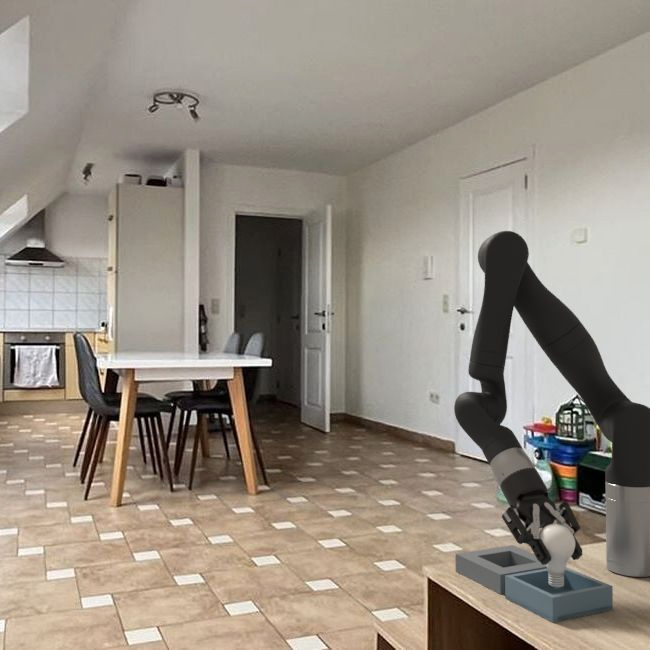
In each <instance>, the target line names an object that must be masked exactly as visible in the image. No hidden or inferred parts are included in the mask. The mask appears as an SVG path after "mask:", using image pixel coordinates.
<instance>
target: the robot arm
mask: <svg viewBox="0 0 650 650" xmlns="http://www.w3.org/2000/svg"><path fill="white" fill-rule="evenodd" d="M529 255H530V252H529V247H528V244H527V242H526V240H525V239H524V238H523V237H522V236H521V235H520V234H519V233H516V232H514V231H511V230H504V231H503V230H502V231H498V232H496V233H494V234H492V235H490V236H489V237H487V238H486V239H485V240H484V241H483V242H482V243H481V244H480V246H479V249H478V253H477V261H478V265H479V268H480V269H481V270H482V272H483V273H484V288H483V296H482V302H481V307H480V312H479V316H478V319H477V322H476V324H475V325H476V326H475V330H474V333H473V338H472V343H471V350H470V355H469V356H470V357H469V362H468V376H469V377H470V378H472V379H474V380H476V381H479V382H480V388H481V392H477V391H465V392H463V393H460V394H459V395H458V396H457V398H456V400H455V402H454V407H453V409H454V415H455V419H456V420H457V423H458V425H459V426H460V427H461V429H462V430H463V431H464V433H465V434H466V435H467V436H469V438H470V439H471V441H472V442H474V443H475V444H476V445H477V446H478V447H479V448H480V451H482V453H483V456H484V458H485V460H486V461H487V463H488V464H489V466H490V469H491V472H492V474H493V476H494V479H495V480H496V483H497V484H498V487H499V488H500V490H501V492H502V494H503V496H504V498H505V500H506V501H507V503H508V505H509V507H508V508H507V509H506V510H505V511H504V512H503V513H502V515H501V518H502V520H503V522H504V523H505V525H506V527H507V528H508V529H509V531H510V532H511V534H512V536H513V537H514V540H516V542H517V544H519V545H522V544H525V545H526V544H527V546H528V547H530V548H531V550H532V553H533V554H535V556H536V558H537V560H538V561H539V562H541V564H542V565H545V564H548V562H549V561H550V560H551V556H550V554H549V552H548V551H547V549H546V547H545V545H544V543H543V541H542V540H541V539H540V540H539V532H540V530H541V529H542V528H543V527H545V526H546V525H549V524H555V521H556V524H560V525H563V526H565V527H566V528H568V529H569V530H570V531H571V533H572V534H573V536H574V538H575V550H574V553H573V554H572V556H571V557H570V558H571V559H572V560H574V561H576V560H579V559H580V558H581V557H582V556H583V549H582V547H581V545H580V543H579V541H578V540H577V538H576V537H575V535H576V533H578V532H579V531H580V529H581V526H580V525H579V523H578V520H577V518H576V516H575V514H574V512H573V510H572V508H571V506H570V503H569V502H568V501H566V500H564V501H562V502H561V503H556V502H554V501H553V500H552V499H551V498H550V496H549V493H548V492H549V491H548V487H547V485H546V484H545V482H544V480H543V478H542V477H541V475H540V473H539V472H538V470H537V468H536V467H535V465H534V463H533V461H532V460H531V458H530V457H529V455H528V454H527V453H526V452H525V450H524V449H523V447H522V445H521V442H519V440H518V438H517V436H516V434H515V433H514V432H513V430H512V429H510V428H509V427H508V426H505V425H502V423H503V421H504V420H505V417H506V415H507V411H508V410H507V409H508V401H507V399H508V398H507V392H506V381H505V376H504V374H505V367H506V362H507V361H506V360H507V354H508V347H509V339H510V332H511V323H512V319H513V312H514V308H515V310H516V311H517V313H518V315H519V317H520V318H521V320H522V322H523V323H524V324H525V326H526V328H527V329H528V331H529V332H530V334H531V335H532V336H533V338H534V340H535V341H536V343H537V344H538V346H539V347H540V349H542V351H543V353H544V354H545V356H547V358H548V359H549V360H550V361H551V363H552V364H553V366H555V368H556V369H557V370H558V371H559V373H560V374H561V375H562V377H564V379H565V380H566V382H568V384H569V385H570V386H571V387H572V388H573V389H574V391H575V392H576V393H577V394H578V396H579V397H580V398H581V400H582V401H583V403H584V404H585V407H586V408H587V409H588V411H589V413H590V415H591V416H592V418H593V420H594V422H595V423H596V425H597V426H598V428H599V430H600V431H601V433H602V434H603V437H605V438H606V439H607V441H609V442H610V443H611V460H610V463H609V465H607V466H606V468H605V473H604V474H605V477H604V478H605V539H606V540H605V541H606V542H605V543H606V546H605V548H606V550H605V552H606V557H605V558H606V559H605V560H606V568H607V570H609V571H611V572H613V573H615V574H618V575H621V576H628V577H636V578H637V577H638V578H639V577H640V578H645V577H650V407H649V406H647V405H644V404H641V403H638V402H635V401H634V402H633V401H631V399H630V398H628V397H627V395H626V394H625V393H624V392H623V391H622V390H621V389H620V388H619V386H618V385H617V384H616V383H615V381H614V380H613V379H612V377H611V376H610V374H609V372H608V371H607V368H606V366H605V364H604V363H605V362H604V360H603V358H602V355H601V352H600V351H599V348H598V346H597V344H596V341H595V340H594V338H593V336H592V335H591V333H590V332H589V331H588V330H587V328H586V327H585V326H584V324H583V323H582V322H581V321H580V319H579V318H578V317H577V315H576V314H575V313H574V312H573V311H572V310H571V309H570V308H569V307H568V306H567V305H566V304H565V303H564V302H562V300H560V298H559V297H557V296H556V295H555V294H554V293H553V292H551V291H550V290H549V289H548V288H547V287H546V286H545V284H544V283H542V282H541V280H540V279H539V277H538V276H537V275H536V273H535V272H534V270H533V268H532V267H531V266H530V264H529V262H528V260H529V257H530V256H529Z"/></svg>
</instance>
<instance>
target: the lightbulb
mask: <svg viewBox="0 0 650 650" xmlns="http://www.w3.org/2000/svg"><path fill="white" fill-rule="evenodd" d="M574 536H575V535H574ZM574 536H573V534H572V533H571V531H570V530H569V529H568V528H566V527H565V526H563V525H560V524H557V523H553V524H549V525H546V526H545V527H543V528H540V529H539V540H540V539H541V540H542V541H543V543H544V545H545V547H546V549H547V551H548V552H549V554H550V556H551V560H550V561H549V562H548V564H546V566H547V569H548V575H549V576H548V580H549V581H548V584H549V585H550V586H552V587H553V588H556V589H558V588H561V587H563V586H564V571H565V569H566V568H567V565H568V562H569V560H570V559H571V558H572V557H571V556H572V554H573V553H574V550H575V538H576V537H575V538H574Z"/></svg>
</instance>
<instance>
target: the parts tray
mask: <svg viewBox="0 0 650 650" xmlns="http://www.w3.org/2000/svg"><path fill="white" fill-rule="evenodd" d="M548 576H549V575H548V569H541V570H535V571H529V572H523V573H518V574H512V575H506V576H505V595H504V597H505V599H506V600H508V601H510V602H512V603H514V604H516V605H518V606H520V607H521V608H523V609H525V610H527V611H529V612H530V613H534V614H535V615H537V616H539V617H541V618H544V619H545V620H547V621H549V622H551V623H558V622H561V621H567V620H571V619H575V618H582V617H586V616H591V615H595V614H599V613H605V612H610V611H613V610H614V608H613V605H614V601H613V600H614V599H613V598H614V596H613V593H614V592H613V591H614V589H613V585H611V584H609V583H606V582H603V581H601V580H598V579H596V578H594V577H591V576H588V575H587V574H583V573H580V572H578V571H576V570H573V569H571V568H569V567H566V569H565V571H564V586H563V587H561V588H558V589H556V588H553V587H552V586H550V585H549V584H548V581H549V580H548Z"/></svg>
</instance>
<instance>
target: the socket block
mask: <svg viewBox="0 0 650 650" xmlns="http://www.w3.org/2000/svg"><path fill="white" fill-rule="evenodd" d="M541 569H547V566H546V564H545V565H542V564H541V562H539V561H538V560H537V558H536V556H535V554H534V552H530V551H528V550H526V549H523V548H520V547H518V546H516V545H514V544H513V545H504V546H498V547H491V548H485V549H478V550H472V551H465V552H459V553H458V552H457V553H455V572H456V573H458V574H460V575H462V576H464V577H465V578H467V579H469V580H471V581H473V582H476V583H477V584H480V585H482V586H484V587H486V588H488V589H490V590H491V591H493V592H495V593H496V594H499V595H504V594H505V576H506V575H512V574H518V573H523V572H529V571H535V570H541Z"/></svg>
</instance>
